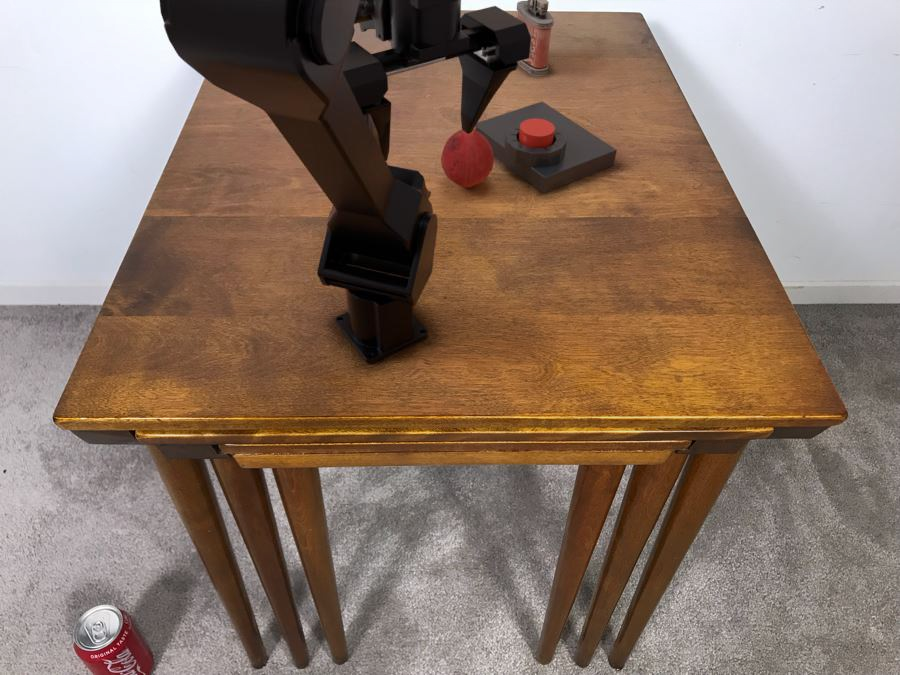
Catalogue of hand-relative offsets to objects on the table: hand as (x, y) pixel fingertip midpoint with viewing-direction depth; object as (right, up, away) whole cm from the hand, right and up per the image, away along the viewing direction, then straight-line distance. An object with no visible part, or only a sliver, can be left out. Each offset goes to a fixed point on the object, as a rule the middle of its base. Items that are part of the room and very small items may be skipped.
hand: (425, 145), depth 66 cm
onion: (+4, -1, +17) cm, 17 cm away
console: (+14, +5, +22) cm, 26 cm away
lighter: (+14, +22, +39) cm, 47 cm away
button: (+12, +5, +17) cm, 22 cm away
